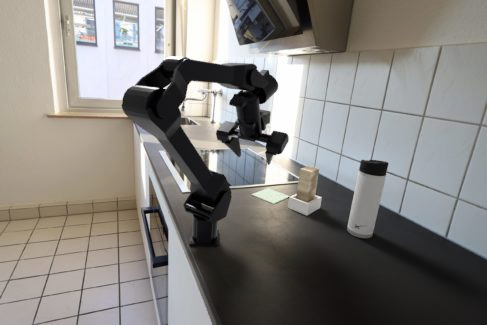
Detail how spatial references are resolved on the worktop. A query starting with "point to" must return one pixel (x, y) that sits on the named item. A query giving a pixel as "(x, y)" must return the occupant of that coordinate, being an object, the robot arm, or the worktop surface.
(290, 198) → the holder box
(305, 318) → the worktop surface
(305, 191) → the tall tan tower
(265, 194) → the mat
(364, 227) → the travel mug
